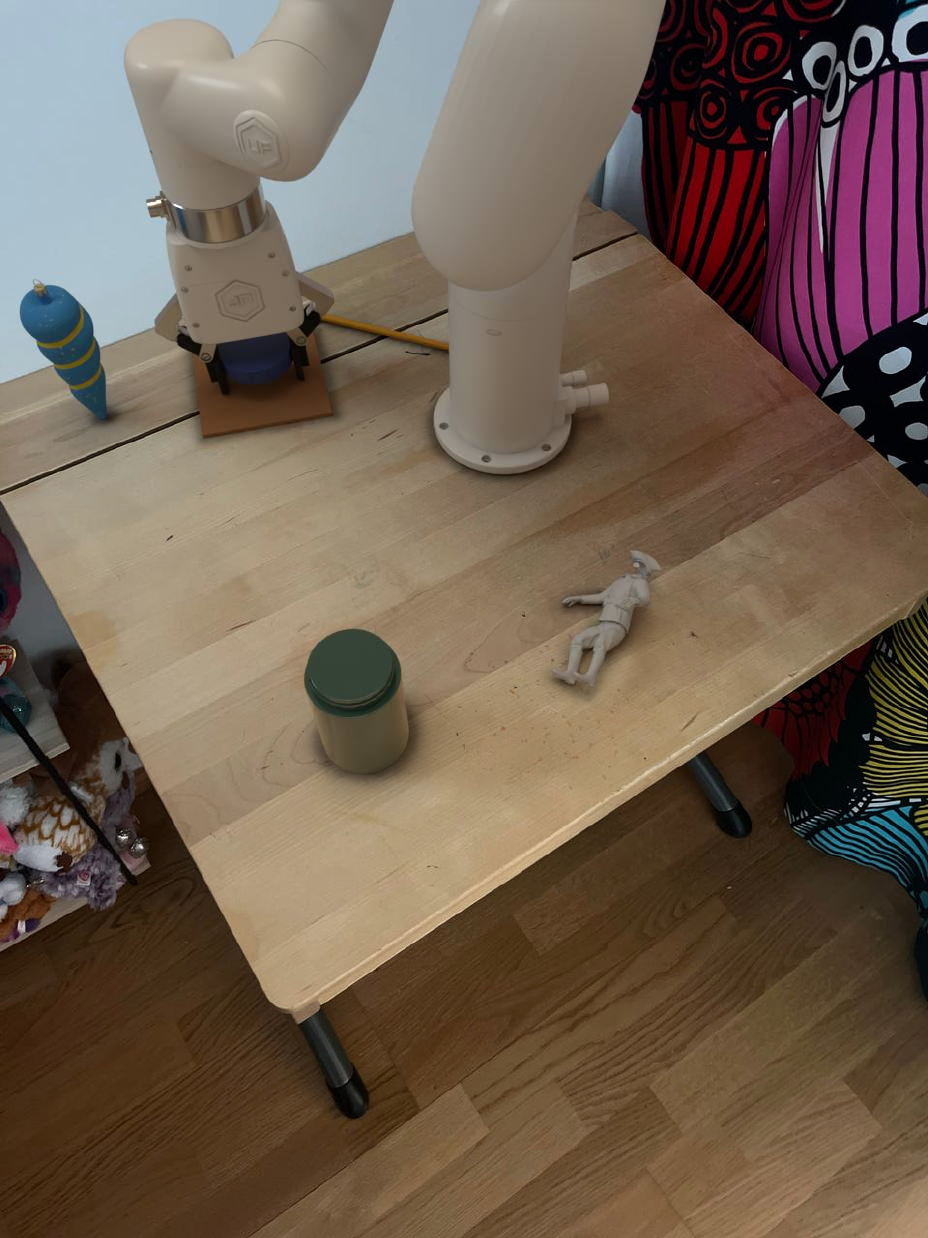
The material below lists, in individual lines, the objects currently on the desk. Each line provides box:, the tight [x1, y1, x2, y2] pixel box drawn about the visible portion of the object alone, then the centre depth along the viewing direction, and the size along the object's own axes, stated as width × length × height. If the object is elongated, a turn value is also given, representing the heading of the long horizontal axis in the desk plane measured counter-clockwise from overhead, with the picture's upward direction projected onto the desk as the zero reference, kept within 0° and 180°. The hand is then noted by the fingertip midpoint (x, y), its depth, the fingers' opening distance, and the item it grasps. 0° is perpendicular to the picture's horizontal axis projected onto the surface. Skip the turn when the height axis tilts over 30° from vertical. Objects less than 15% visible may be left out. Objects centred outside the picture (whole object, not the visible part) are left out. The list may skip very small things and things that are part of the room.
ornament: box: [19, 278, 108, 420], centre depth 79 cm, size 5×5×15 cm
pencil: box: [321, 313, 449, 352], centre depth 91 cm, size 19×1×1 cm, turn 70°
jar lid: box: [218, 332, 293, 385], centre depth 84 cm, size 7×7×2 cm
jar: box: [303, 628, 410, 775], centre depth 63 cm, size 6×6×10 cm
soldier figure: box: [550, 549, 663, 689], centre depth 71 cm, size 8×5×12 cm
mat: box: [191, 331, 333, 439], centre depth 87 cm, size 12×12×1 cm
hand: (262, 376), depth 87 cm, fingers closed on jar lid, 6 cm apart
